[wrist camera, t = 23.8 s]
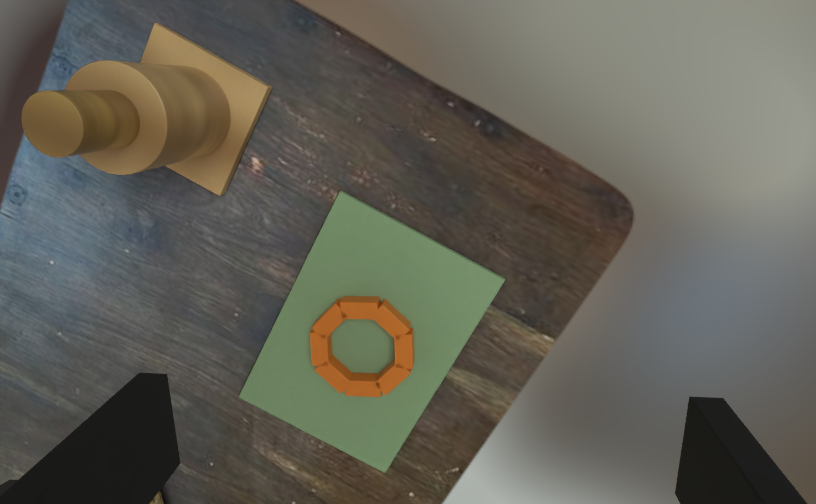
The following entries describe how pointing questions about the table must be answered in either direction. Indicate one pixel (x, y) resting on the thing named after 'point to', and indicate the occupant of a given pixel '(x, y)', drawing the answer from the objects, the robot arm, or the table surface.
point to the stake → (153, 113)
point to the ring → (340, 373)
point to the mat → (369, 330)
